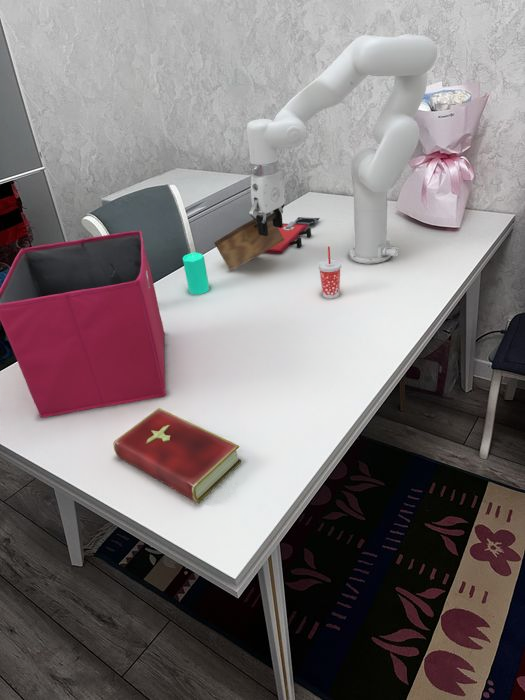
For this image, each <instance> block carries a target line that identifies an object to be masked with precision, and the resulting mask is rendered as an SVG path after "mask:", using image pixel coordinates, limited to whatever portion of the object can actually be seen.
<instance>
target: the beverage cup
mask: <svg viewBox="0 0 525 700" xmlns="http://www.w3.org/2000/svg"><path fill="white" fill-rule="evenodd" d="M327 256H328V259H326V260H322V261H320V262H319V263H318V264H317V266H318V267H317V268H318V270H319V276H320V277H319V278H320V284H321V292H322V297H323V298H325V299H330V300H331V299H336V298H338V297H340V288H341V268H342V262H340V261H339V260H337V259H331V246H327Z"/></svg>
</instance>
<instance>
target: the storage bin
mask: <svg viewBox="0 0 525 700" xmlns="http://www.w3.org/2000/svg"><path fill="white" fill-rule="evenodd" d="M143 239H144V237H143V233H142V231H141V230H134V231H133V230H132V231H131V230H130V231H125V232H117V233H112V234H111V233H110V234H104V235H99V236H92V237H87V238H82V239H75V240H70V241H63V242H62V241H61V242H56V243H50V244H41V245H36V246H31V247H23V248H20V250H19V252H18V253H17V255H16V256H15V258H14V260H13V262H12V264H11V267H10V268H9V271H8V272H7V274H6V276H5V279H4V281H3V283H2V284H1V287H0V322H1V326H2V327H3V329H4V330H3V331H4V332H5V334H6V337H7V339H8V342H9V345H10V347H11V349H12V351H13V354H14V356H15V359H16V361H17V363H18V366H19V369H20V371H21V373H22V376H23V378H24V381H25V383H26V386H27V389H28V391H29V393H30V397H31V398H32V400H33V403H34V405H35V408H36V410H37V411H38V414H39V415H38V416H39V418H40V419H41V418H48V417H54V416H58V415H64V414H70V413H74V412H80V411H81V412H82V411H86V410H92V409H97V408H104V407H110V406H116V405H123V404H130V403H135V402H140V401H141V402H142V401H146V400H151V399H158V398H163V397H165V396H167V391H166V369H165V368H166V367H165V338H166V333H165V330H164V325H163V320H162V317H161V313H160V308H159V303H158V297H157V294H156V289H155V284H154V281H153V276H152V272H151V271H152V270H151V267H150V264H149V261H148V258H147V257H148V256H147V253H146V248H145V243H144V240H143Z"/></svg>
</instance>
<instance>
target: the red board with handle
mask: <svg viewBox="0 0 525 700" xmlns="http://www.w3.org/2000/svg"><path fill="white" fill-rule="evenodd" d="M320 219H321V218H320V217H304V216H303V217H302V216H301V217H300V216H298V217H297V218H296V219H295V220H294V221H290V222H289V223H284V222H283V227H282V228H278V229H279V230H280V232H281V234H282V236H283V238H284V241H282V242H280V243H279V244H277V245H275V246H274V247H272V248H270V249H269V250H267V251H265V252H264V253H265V254H267V253H268V254H281V255H282V254H283V253H284V252H285V251H286V250H287V249H288V248H289V246H294V245H296V248H297V249H300V248H301V247H302V246H303V244H302V237H300V236H303V235H306V239H310V238H311V237H312V228H311V227H308V226H314V225H316V223H317V222H318V221H319V220H320ZM264 253H263V254H264Z"/></svg>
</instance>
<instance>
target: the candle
mask: <svg viewBox="0 0 525 700" xmlns="http://www.w3.org/2000/svg"><path fill="white" fill-rule="evenodd" d="M182 263H183V267H184V272H185V277H186V283H187V288H188V292H189V293H190V294H191V295H203V294H206V293H207V292H209V290H210V283H209V278H208V272H207V267H206V261H205V255H204V254H202V253H200V252H194V251H191V252H190V253H187V254H185V255H184V256H183V257H182Z"/></svg>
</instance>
